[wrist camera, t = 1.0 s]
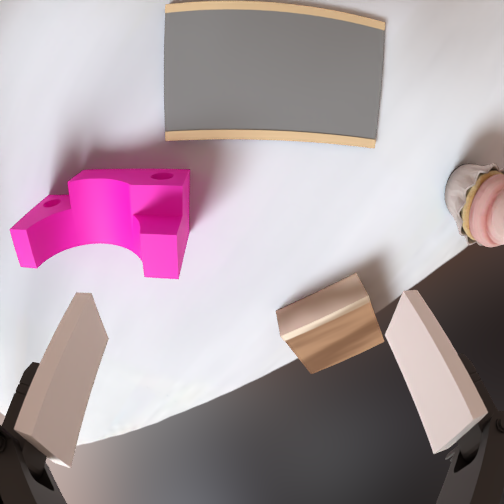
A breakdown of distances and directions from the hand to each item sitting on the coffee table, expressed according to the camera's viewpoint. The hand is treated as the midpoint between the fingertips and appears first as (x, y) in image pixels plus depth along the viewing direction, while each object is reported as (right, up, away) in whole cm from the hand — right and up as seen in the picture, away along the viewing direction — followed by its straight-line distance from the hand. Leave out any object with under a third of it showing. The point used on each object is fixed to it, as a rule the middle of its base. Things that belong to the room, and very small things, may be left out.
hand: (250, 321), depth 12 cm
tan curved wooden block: (+12, -9, +24) cm, 29 cm away
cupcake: (+24, +10, +16) cm, 30 cm away
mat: (+2, +17, +9) cm, 20 cm away
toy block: (-13, +8, +15) cm, 21 cm away
